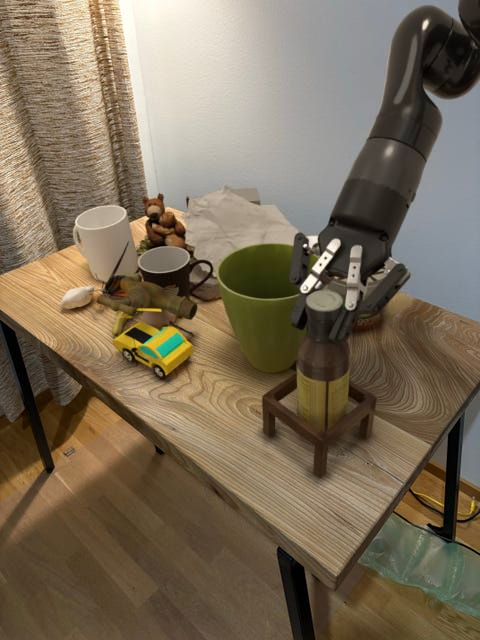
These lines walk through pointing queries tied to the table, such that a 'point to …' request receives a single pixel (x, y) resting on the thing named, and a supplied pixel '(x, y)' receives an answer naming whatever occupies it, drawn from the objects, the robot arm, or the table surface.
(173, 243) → the bear figurine
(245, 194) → the toy
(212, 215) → the paper
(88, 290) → the dumpling
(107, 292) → the butterfly
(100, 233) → the mug
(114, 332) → the banana
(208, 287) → the ceramic tile fragment
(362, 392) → the open square stand
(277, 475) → the table surface
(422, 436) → the table surface
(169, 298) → the action figure
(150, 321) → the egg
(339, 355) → the sauce bottle
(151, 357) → the toy car
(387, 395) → the table surface
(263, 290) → the flower pot
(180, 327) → the stick
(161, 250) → the coffee mug
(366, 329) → the food container
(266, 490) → the table surface
